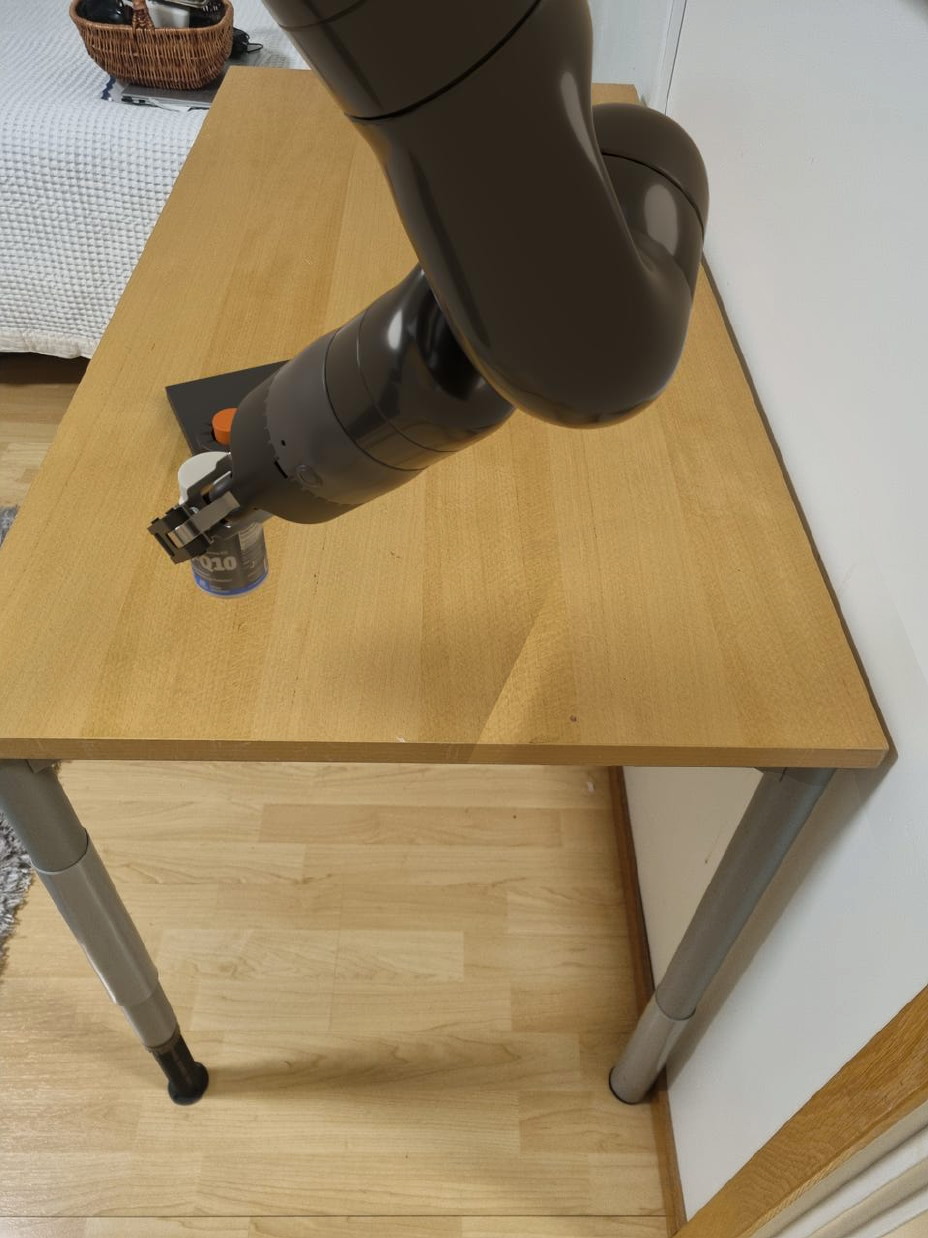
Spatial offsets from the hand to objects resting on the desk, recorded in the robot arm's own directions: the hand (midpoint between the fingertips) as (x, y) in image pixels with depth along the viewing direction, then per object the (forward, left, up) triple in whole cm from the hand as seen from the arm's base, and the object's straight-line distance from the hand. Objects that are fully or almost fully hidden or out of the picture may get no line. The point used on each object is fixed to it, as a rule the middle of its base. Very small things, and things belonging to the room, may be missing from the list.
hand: (200, 514), depth 57 cm
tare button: (+6, +20, -10) cm, 23 cm away
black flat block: (+11, +24, -12) cm, 30 cm away
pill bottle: (+1, -2, -4) cm, 5 cm away
